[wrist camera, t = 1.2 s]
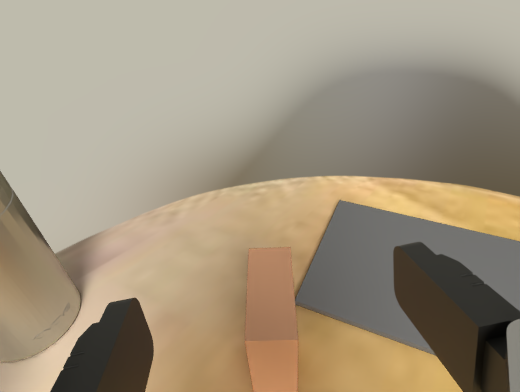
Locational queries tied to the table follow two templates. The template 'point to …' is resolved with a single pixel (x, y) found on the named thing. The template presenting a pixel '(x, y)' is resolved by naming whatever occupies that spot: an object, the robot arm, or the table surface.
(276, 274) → the card box
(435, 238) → the mat
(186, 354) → the table surface
